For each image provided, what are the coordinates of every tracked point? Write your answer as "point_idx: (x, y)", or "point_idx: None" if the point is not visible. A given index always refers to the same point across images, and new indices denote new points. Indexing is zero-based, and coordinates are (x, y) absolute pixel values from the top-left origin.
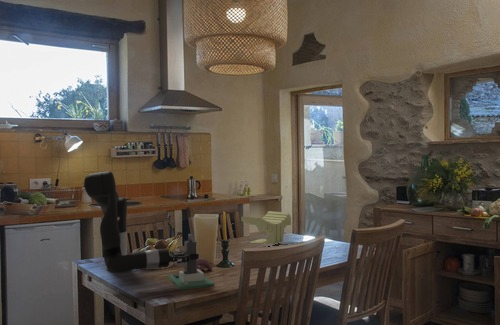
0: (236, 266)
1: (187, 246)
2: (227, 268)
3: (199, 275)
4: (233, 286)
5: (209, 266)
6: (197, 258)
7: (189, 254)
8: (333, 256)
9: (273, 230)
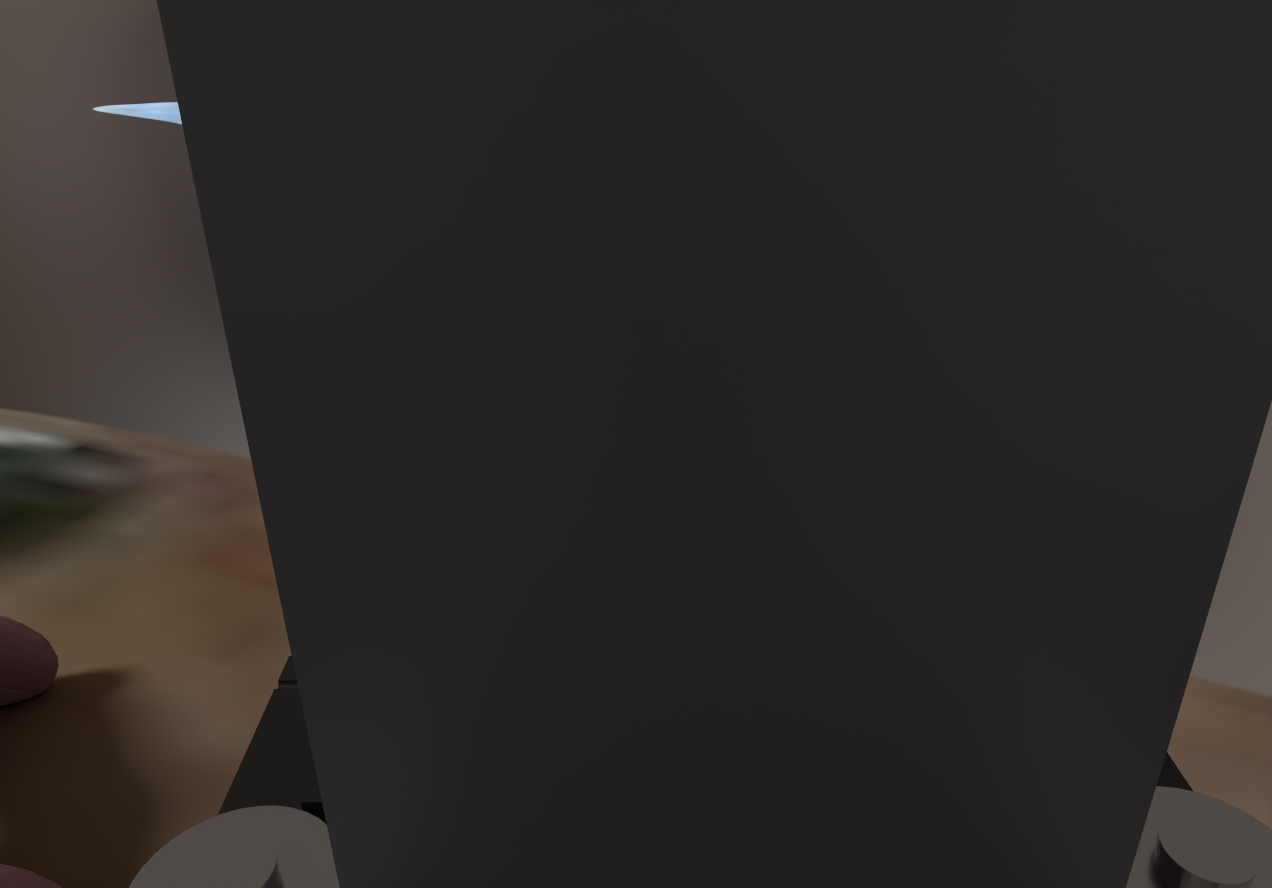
0: (167, 443)
1: (1246, 364)
2: (162, 518)
3: None
4: (1200, 685)
5: (5, 649)
6: None
7: (1210, 819)
8: None
9: None
